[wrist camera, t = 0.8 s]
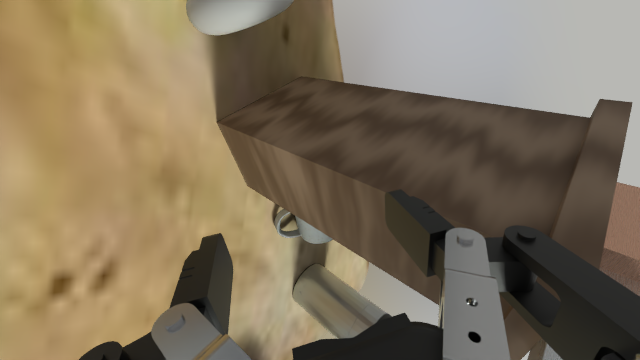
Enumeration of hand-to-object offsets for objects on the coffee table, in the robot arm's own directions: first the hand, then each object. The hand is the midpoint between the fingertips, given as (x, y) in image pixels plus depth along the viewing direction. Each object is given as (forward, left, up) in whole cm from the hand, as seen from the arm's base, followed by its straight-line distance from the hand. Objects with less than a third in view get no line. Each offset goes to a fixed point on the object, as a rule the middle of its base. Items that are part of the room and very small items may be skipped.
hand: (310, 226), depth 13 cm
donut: (+3, -14, -22) cm, 26 cm away
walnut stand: (-12, -9, -22) cm, 26 cm away
